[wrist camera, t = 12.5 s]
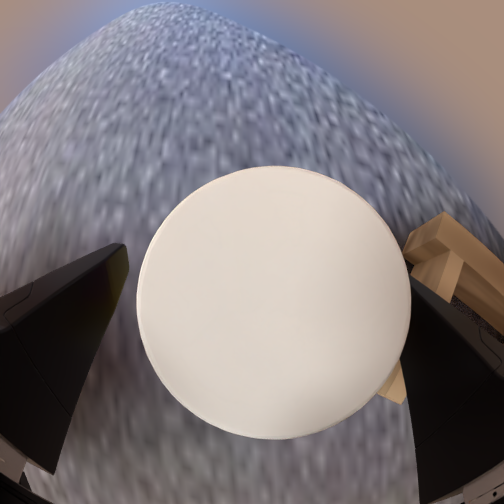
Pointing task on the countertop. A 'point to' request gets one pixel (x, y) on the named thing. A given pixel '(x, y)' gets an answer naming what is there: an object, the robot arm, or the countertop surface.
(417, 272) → the tan u-shaped block
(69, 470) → the countertop surface
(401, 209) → the countertop surface
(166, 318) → the supplement bottle
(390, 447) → the countertop surface
